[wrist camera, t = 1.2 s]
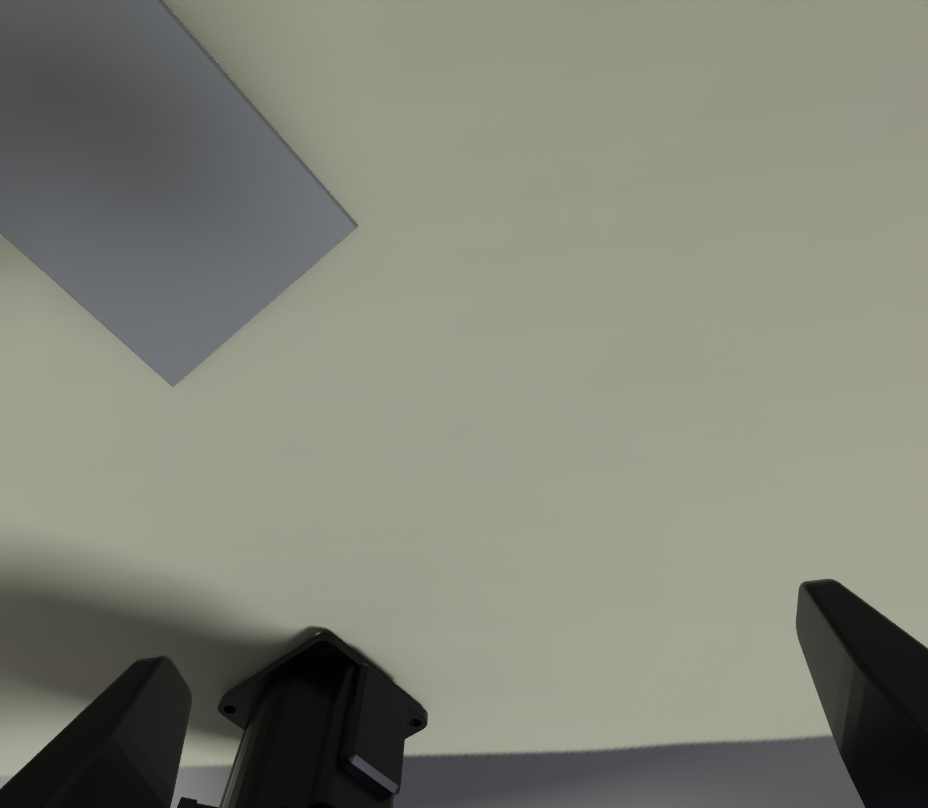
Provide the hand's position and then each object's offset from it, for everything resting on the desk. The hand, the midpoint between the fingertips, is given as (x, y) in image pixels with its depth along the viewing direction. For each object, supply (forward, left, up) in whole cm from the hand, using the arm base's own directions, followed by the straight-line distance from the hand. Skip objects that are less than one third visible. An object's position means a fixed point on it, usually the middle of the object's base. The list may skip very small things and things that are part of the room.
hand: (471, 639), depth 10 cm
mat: (-5, +10, -13) cm, 17 cm away
